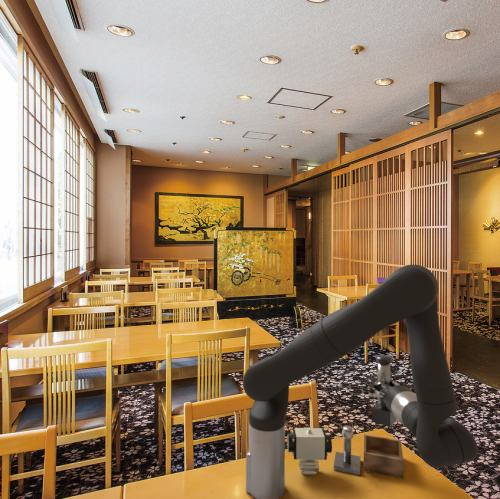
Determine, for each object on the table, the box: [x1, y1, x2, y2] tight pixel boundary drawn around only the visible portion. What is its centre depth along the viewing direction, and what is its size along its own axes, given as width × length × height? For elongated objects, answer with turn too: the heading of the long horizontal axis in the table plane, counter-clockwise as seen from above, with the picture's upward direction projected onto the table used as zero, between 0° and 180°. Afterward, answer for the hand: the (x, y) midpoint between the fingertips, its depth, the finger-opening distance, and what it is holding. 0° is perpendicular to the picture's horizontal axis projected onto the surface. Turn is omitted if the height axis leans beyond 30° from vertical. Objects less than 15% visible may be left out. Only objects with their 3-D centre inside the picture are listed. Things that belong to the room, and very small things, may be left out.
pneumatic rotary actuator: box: [286, 426, 333, 476], centre depth 97 cm, size 6×12×12 cm, turn 89°
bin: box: [363, 434, 405, 480], centre depth 101 cm, size 10×10×5 cm
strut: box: [371, 354, 398, 428], centre depth 100 cm, size 5×5×18 cm
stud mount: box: [333, 425, 362, 476], centre depth 100 cm, size 7×7×11 cm
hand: (379, 380), depth 103 cm, fingers closed on strut, 3 cm apart
